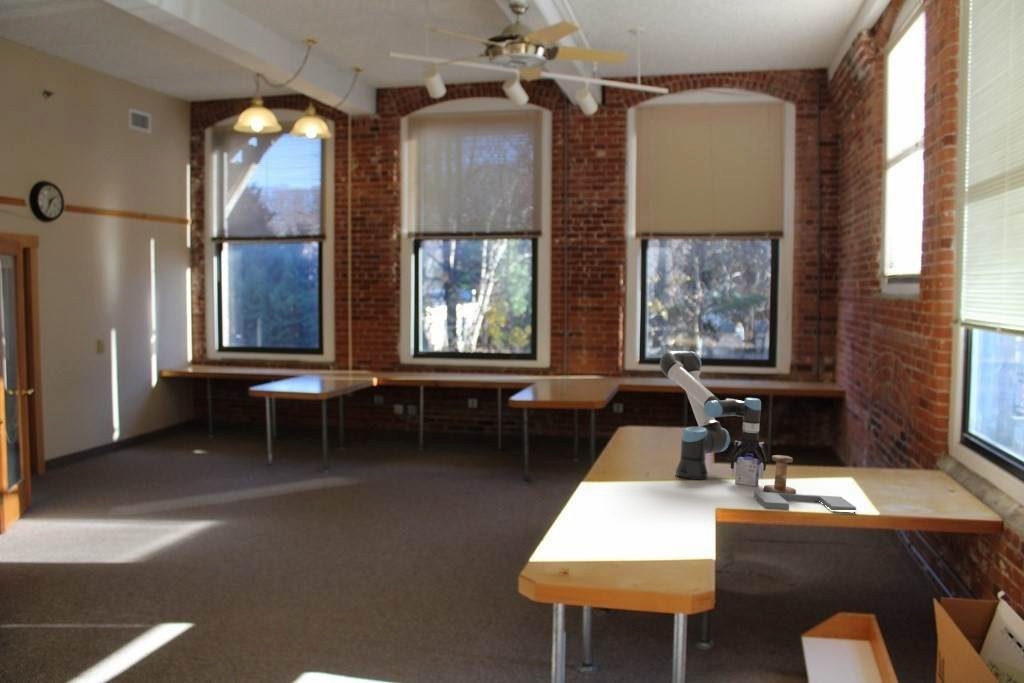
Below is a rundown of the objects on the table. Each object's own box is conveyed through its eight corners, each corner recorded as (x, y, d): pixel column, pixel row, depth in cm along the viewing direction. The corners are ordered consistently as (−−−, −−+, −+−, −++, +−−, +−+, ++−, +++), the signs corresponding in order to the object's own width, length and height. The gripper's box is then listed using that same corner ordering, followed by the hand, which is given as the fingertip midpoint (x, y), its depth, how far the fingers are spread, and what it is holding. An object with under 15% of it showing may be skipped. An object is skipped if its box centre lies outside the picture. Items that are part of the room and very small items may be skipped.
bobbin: (768, 494, 390) (771, 459, 389) (760, 487, 404) (762, 453, 403) (799, 496, 390) (802, 461, 389) (790, 489, 404) (793, 455, 403)
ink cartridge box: (758, 484, 409) (761, 454, 408) (755, 487, 404) (758, 456, 403) (737, 481, 414) (740, 451, 413) (734, 483, 409) (736, 453, 408)
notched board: (765, 508, 366) (765, 502, 366) (753, 497, 384) (754, 491, 384) (855, 513, 366) (856, 507, 365) (840, 502, 384) (840, 496, 383)
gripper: (726, 431, 404) (722, 476, 405) (779, 434, 403) (775, 479, 405) (722, 428, 411) (719, 473, 413) (774, 431, 411) (771, 476, 412)
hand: (747, 476), depth 409 cm, fingers open, 12 cm apart
